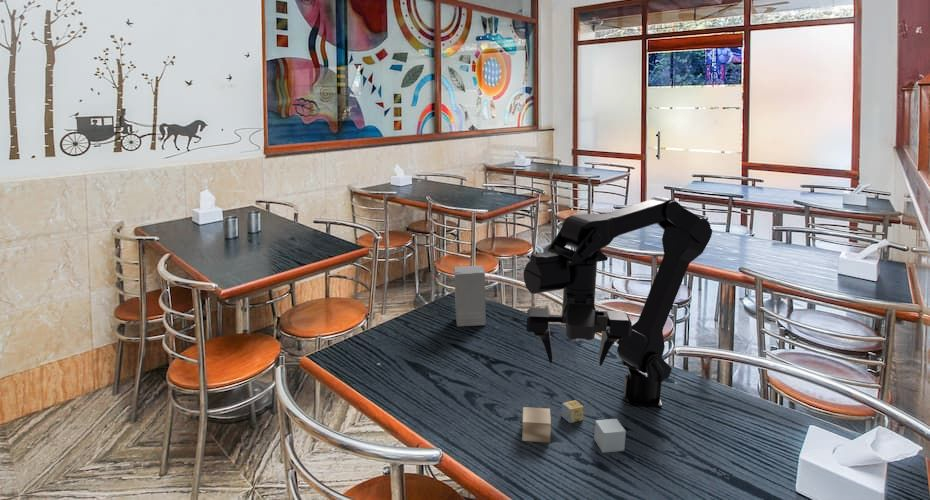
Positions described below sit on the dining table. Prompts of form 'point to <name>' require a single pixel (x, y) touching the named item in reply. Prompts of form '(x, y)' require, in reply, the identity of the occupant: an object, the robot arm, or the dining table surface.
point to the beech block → (536, 424)
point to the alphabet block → (572, 411)
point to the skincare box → (470, 295)
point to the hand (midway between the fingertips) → (575, 363)
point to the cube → (609, 435)
